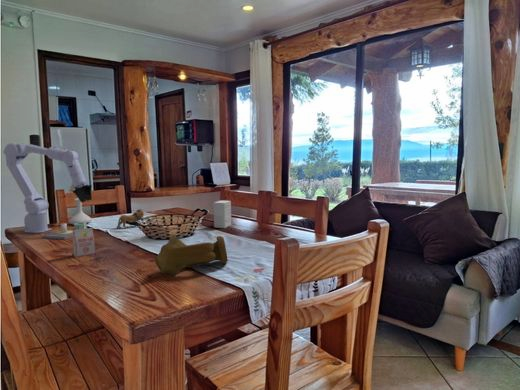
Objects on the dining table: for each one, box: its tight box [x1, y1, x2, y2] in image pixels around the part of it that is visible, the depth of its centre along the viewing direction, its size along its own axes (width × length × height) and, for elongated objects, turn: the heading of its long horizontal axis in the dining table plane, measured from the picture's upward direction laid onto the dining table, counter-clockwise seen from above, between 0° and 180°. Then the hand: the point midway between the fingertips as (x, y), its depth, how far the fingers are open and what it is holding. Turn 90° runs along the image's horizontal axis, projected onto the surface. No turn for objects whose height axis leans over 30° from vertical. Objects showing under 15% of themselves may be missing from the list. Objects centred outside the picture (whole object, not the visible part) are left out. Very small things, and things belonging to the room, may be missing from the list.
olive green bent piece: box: [155, 235, 229, 276], centre depth 122 cm, size 18×13×22 cm
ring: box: [73, 222, 88, 230], centre depth 182 cm, size 6×6×3 cm
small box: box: [213, 200, 232, 229], centre depth 187 cm, size 8×6×13 cm
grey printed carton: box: [72, 227, 96, 258], centre depth 138 cm, size 4×7×10 cm, turn 129°
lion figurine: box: [115, 208, 145, 229], centre depth 186 cm, size 15×5×9 cm, turn 130°
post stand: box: [42, 222, 74, 240], centre depth 170 cm, size 12×13×6 cm
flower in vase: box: [68, 181, 93, 225], centre depth 194 cm, size 13×11×25 cm
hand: (86, 201), depth 178 cm, fingers open, 7 cm apart
